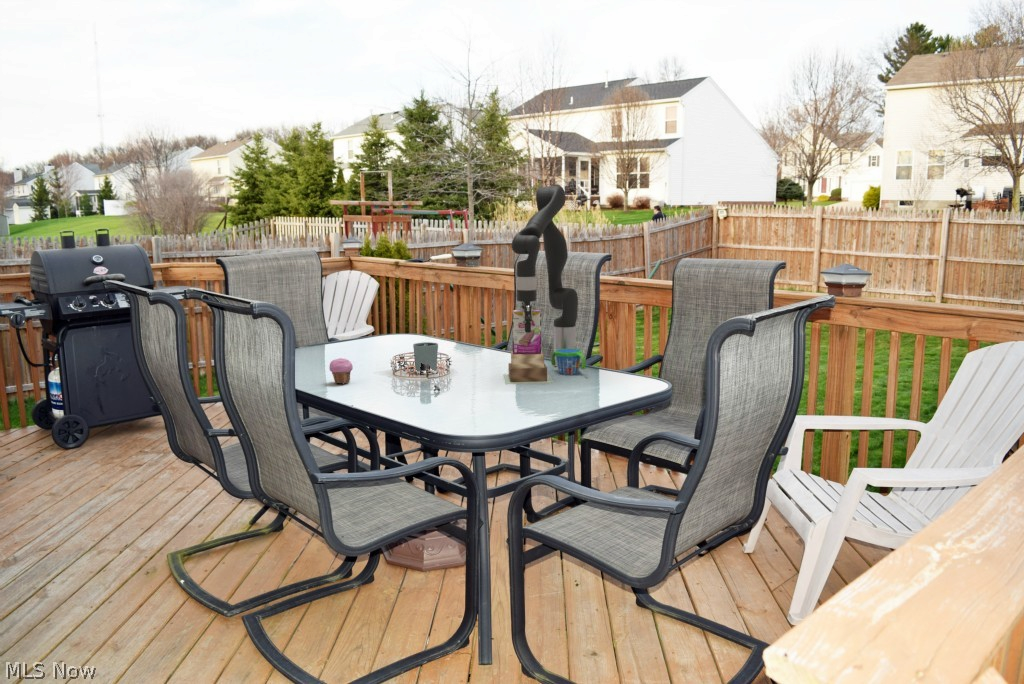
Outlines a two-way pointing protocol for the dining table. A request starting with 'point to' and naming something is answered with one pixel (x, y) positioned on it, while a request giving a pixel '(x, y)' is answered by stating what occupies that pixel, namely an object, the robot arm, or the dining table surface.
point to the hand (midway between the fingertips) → (527, 330)
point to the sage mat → (507, 381)
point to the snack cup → (568, 361)
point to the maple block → (527, 360)
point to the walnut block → (527, 374)
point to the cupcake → (341, 370)
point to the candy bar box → (527, 341)
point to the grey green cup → (426, 355)
